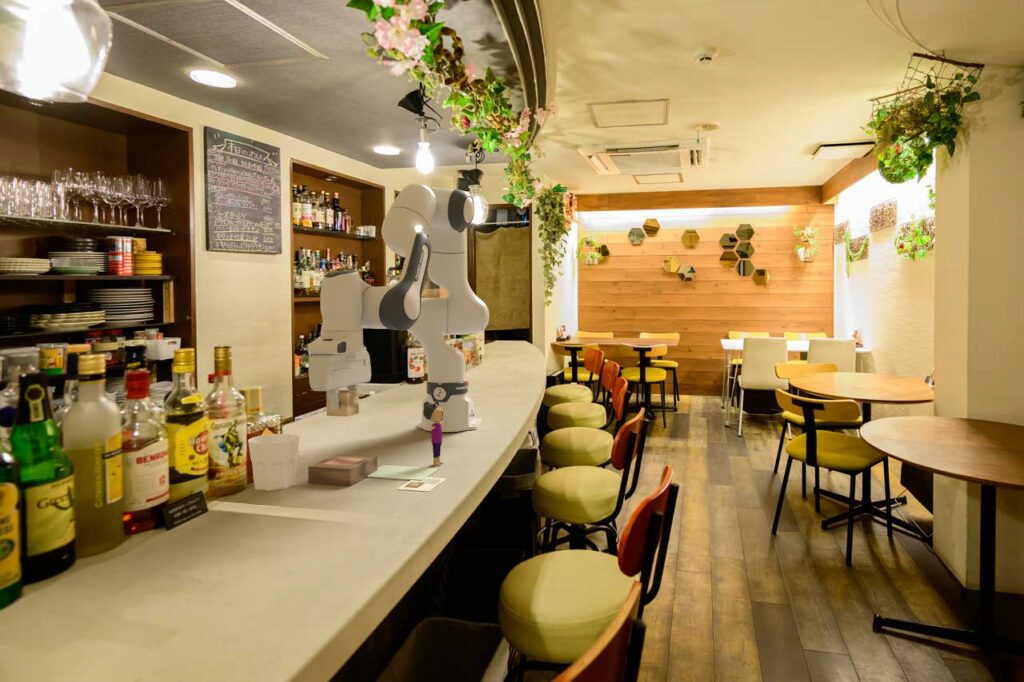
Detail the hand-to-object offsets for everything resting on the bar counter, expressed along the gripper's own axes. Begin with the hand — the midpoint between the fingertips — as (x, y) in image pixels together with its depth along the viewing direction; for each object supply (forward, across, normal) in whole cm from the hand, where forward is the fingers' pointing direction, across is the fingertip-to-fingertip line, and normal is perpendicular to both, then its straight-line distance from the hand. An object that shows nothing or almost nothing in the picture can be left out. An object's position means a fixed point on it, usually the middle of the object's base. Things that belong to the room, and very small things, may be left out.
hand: (343, 407), depth 134 cm
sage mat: (+15, -6, +11) cm, 20 cm away
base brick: (+15, 0, 0) cm, 16 cm away
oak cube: (+2, 0, 0) cm, 2 cm away
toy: (+16, -15, +15) cm, 26 cm away
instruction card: (+16, +1, +19) cm, 24 cm away
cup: (+16, +9, -11) cm, 21 cm away
